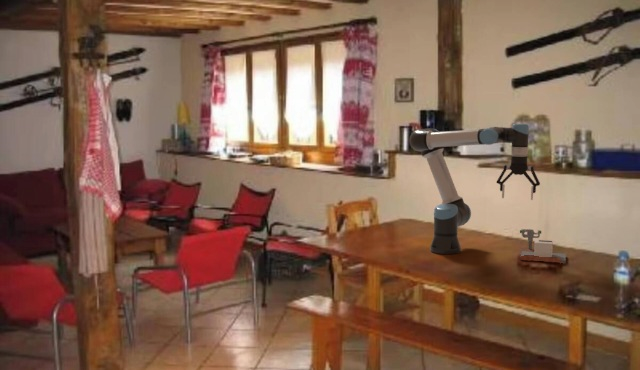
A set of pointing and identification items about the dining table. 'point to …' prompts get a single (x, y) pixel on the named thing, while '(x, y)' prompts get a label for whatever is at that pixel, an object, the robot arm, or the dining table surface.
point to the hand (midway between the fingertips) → (517, 198)
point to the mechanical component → (530, 235)
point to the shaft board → (560, 256)
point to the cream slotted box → (543, 248)
